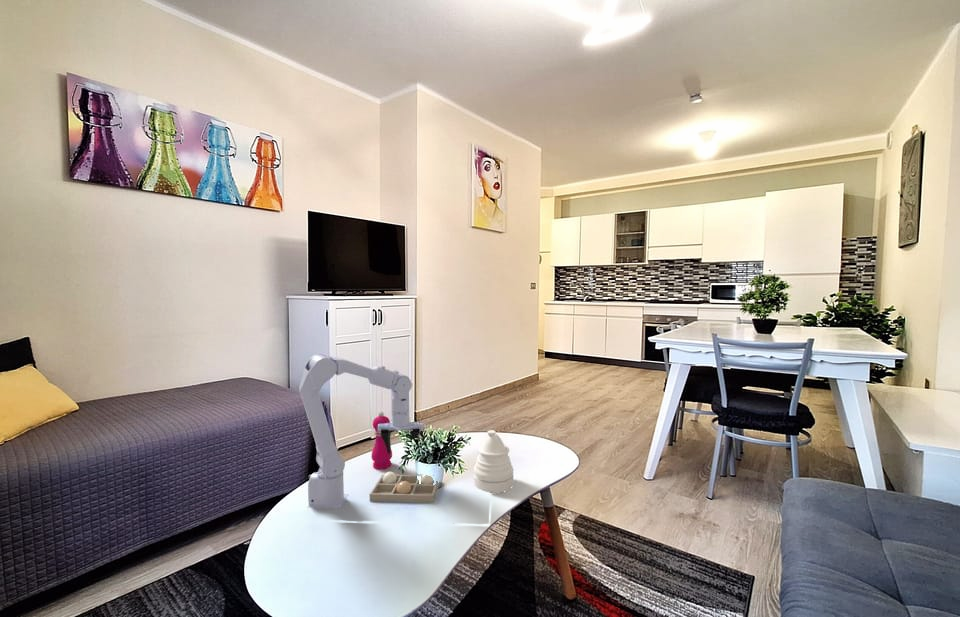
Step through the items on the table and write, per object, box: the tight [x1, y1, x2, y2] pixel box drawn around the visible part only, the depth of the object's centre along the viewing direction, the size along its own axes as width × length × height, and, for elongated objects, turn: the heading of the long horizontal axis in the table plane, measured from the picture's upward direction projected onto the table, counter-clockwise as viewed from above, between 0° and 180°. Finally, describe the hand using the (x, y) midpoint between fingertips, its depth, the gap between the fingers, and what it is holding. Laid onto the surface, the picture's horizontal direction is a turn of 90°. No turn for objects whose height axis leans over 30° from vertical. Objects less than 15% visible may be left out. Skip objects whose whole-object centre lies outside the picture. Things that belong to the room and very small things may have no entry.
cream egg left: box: [383, 471, 397, 484], centre depth 133 cm, size 4×4×4 cm
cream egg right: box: [421, 474, 434, 485], centre depth 132 cm, size 4×4×4 cm
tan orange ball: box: [397, 481, 411, 494], centre depth 126 cm, size 4×4×4 cm
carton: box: [369, 474, 439, 503], centre depth 130 cm, size 19×13×3 cm
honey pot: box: [473, 429, 514, 494], centre depth 135 cm, size 13×13×18 cm
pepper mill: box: [370, 411, 393, 471], centre depth 148 cm, size 7×7×20 cm
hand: (401, 452), depth 135 cm, fingers open, 7 cm apart
